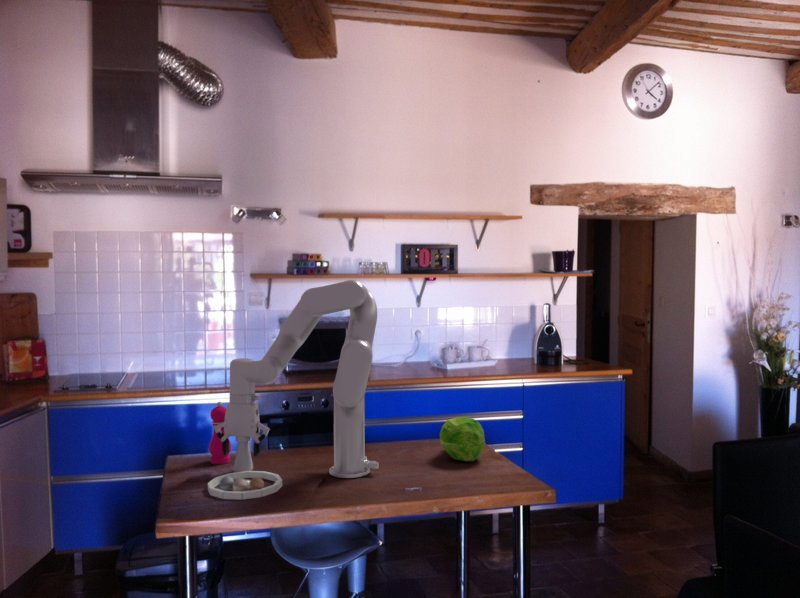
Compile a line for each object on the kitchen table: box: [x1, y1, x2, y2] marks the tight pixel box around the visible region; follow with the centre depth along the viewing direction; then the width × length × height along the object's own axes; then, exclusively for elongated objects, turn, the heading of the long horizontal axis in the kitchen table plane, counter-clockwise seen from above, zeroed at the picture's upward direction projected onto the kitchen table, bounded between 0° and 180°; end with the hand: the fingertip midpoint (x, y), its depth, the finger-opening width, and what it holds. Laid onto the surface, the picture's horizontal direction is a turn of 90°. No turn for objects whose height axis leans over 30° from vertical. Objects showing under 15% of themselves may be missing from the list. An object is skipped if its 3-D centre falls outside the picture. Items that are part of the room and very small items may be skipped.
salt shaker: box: [233, 436, 254, 473], centre depth 200 cm, size 6×6×13 cm
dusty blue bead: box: [218, 477, 235, 491], centre depth 182 cm, size 4×4×4 cm
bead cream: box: [232, 478, 248, 492], centre depth 180 cm, size 4×4×4 cm
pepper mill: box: [208, 401, 233, 465], centre depth 215 cm, size 7×7×20 cm
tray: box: [207, 470, 283, 500], centre depth 184 cm, size 20×20×3 cm
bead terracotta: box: [249, 477, 265, 491], centre depth 181 cm, size 4×4×4 cm
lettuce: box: [439, 416, 486, 462], centre depth 220 cm, size 15×22×15 cm
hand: (241, 454), depth 200 cm, fingers open, 9 cm apart
